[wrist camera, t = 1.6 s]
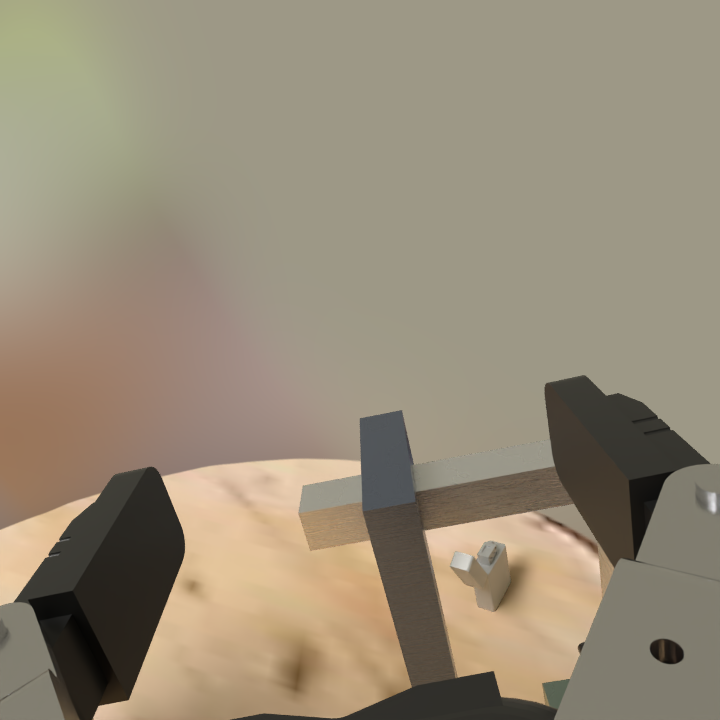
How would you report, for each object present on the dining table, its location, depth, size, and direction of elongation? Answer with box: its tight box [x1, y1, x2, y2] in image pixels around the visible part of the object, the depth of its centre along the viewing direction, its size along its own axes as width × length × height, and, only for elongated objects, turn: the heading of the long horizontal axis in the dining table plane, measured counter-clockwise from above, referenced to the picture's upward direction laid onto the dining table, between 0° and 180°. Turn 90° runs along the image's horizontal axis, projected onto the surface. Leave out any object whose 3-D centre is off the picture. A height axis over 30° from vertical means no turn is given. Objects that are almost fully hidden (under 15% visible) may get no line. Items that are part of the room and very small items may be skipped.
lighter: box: [450, 541, 511, 612], centre depth 52 cm, size 7×2×8 cm, turn 145°
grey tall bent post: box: [299, 440, 614, 709], centre depth 32 cm, size 16×18×28 cm
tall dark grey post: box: [360, 411, 458, 687], centre depth 29 cm, size 6×2×20 cm, turn 0°
